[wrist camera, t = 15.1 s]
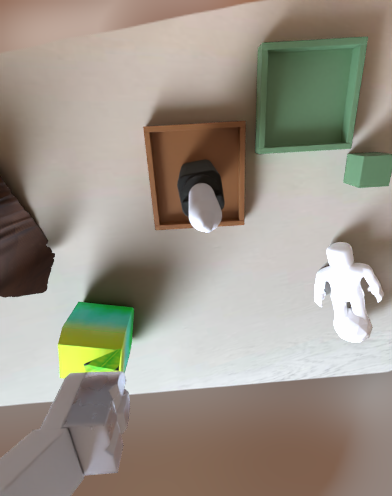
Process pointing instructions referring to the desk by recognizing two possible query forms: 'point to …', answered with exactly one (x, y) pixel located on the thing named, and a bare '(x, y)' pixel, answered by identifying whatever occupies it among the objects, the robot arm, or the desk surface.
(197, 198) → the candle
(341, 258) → the figure
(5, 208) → the potted plant
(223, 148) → the wood tray
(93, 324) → the low-poly cube fruit
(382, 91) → the desk surface
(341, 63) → the green tray
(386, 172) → the green block
